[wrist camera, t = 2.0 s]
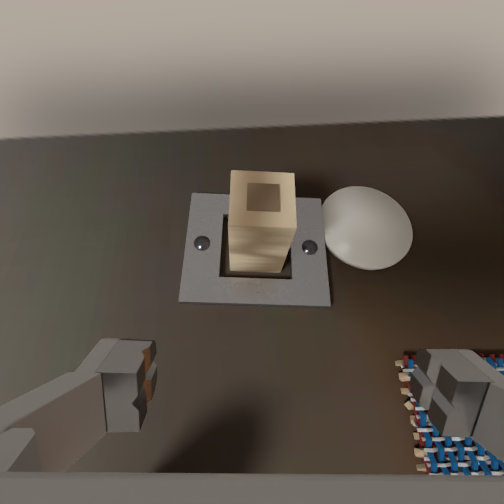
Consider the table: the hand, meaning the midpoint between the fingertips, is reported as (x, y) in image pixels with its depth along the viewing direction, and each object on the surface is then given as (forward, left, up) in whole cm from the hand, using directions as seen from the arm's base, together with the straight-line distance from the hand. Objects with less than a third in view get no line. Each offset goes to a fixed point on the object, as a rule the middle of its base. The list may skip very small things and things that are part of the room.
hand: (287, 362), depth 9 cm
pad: (-14, -13, -18) cm, 27 cm away
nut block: (-2, -12, -18) cm, 22 cm away
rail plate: (-2, -12, -18) cm, 22 cm away
